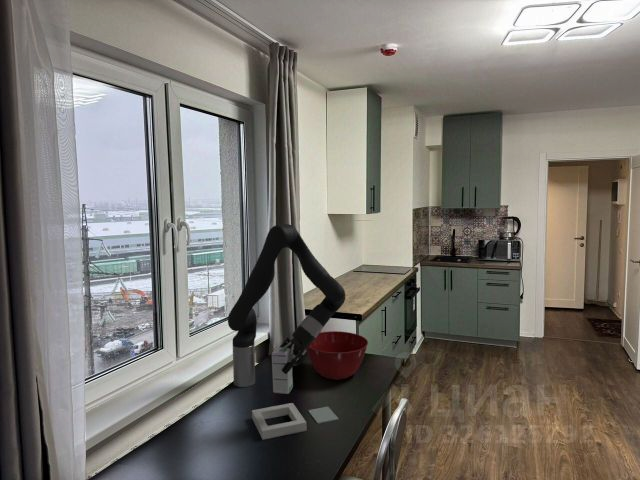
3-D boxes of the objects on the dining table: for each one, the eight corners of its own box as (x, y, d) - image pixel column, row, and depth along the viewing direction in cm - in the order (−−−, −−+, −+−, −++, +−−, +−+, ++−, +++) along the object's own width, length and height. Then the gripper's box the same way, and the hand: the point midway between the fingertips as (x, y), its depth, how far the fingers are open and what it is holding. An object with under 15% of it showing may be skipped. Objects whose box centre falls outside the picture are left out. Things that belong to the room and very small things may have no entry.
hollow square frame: (252, 418, 164) (251, 410, 164) (292, 410, 170) (292, 402, 170) (262, 439, 150) (262, 431, 150) (306, 430, 156) (306, 422, 155)
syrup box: (288, 394, 156) (287, 353, 154) (272, 392, 157) (271, 352, 155) (293, 387, 161) (292, 347, 160) (277, 385, 163) (276, 346, 161)
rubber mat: (308, 411, 169) (308, 410, 169) (328, 407, 172) (328, 406, 172) (317, 423, 160) (317, 422, 160) (338, 419, 163) (338, 418, 163)
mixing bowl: (378, 369, 208) (378, 337, 207) (348, 393, 184) (348, 356, 183) (326, 357, 223) (326, 327, 222) (292, 378, 200) (292, 344, 198)
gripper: (292, 320, 167) (264, 356, 162) (310, 330, 154) (279, 369, 150) (305, 331, 170) (278, 367, 165) (324, 342, 157) (294, 381, 153)
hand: (278, 368), depth 158 cm, fingers closed on syrup box, 8 cm apart
